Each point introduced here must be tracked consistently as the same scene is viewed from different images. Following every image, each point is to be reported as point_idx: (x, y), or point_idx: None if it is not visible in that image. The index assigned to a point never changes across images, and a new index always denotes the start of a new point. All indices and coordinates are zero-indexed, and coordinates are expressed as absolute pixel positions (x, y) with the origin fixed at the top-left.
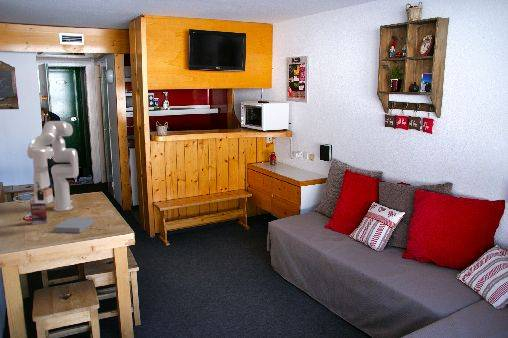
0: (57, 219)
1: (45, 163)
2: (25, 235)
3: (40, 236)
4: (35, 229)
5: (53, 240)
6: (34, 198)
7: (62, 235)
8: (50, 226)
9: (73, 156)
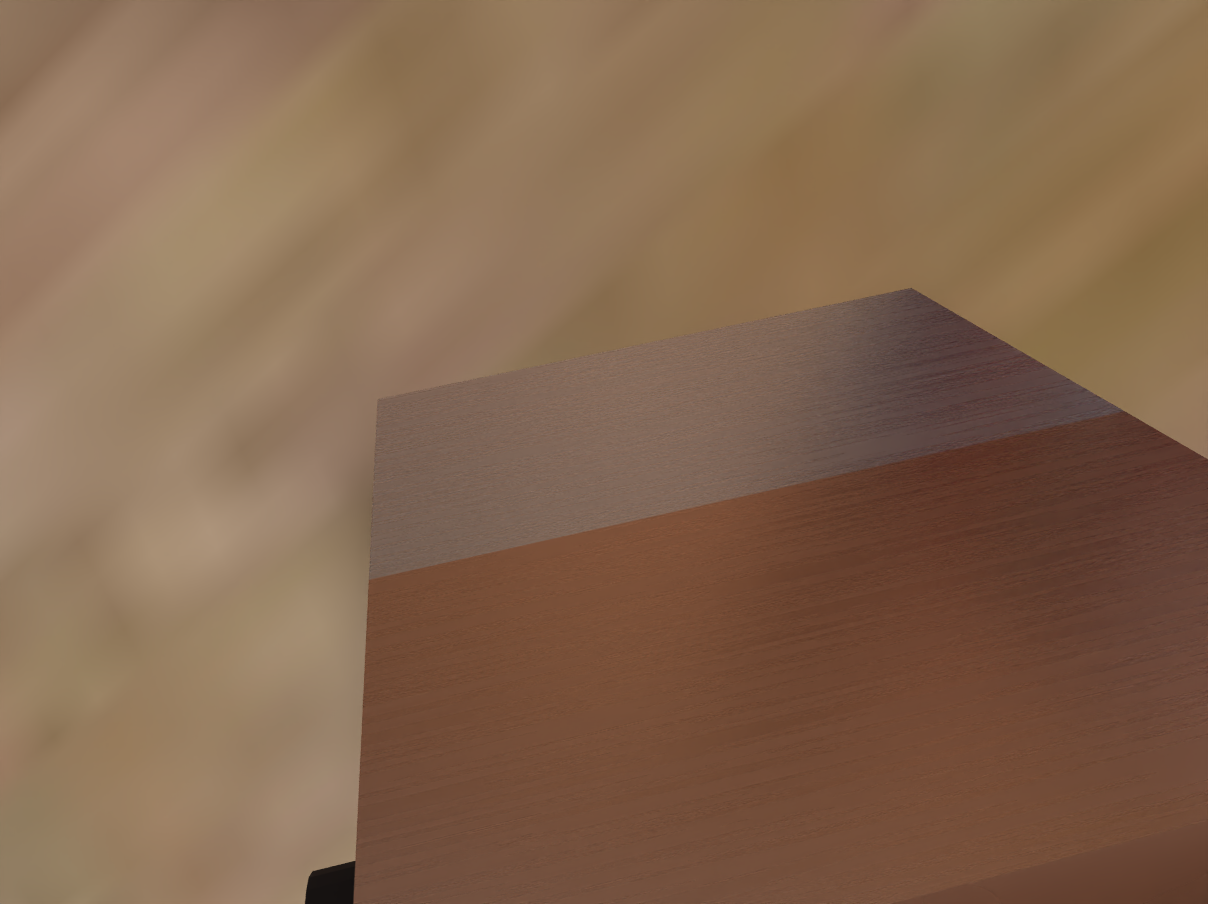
0: (1191, 36)
1: None
2: (4, 125)
3: (111, 499)
4: (445, 40)
5: (52, 859)
6: (374, 519)
7: (331, 817)
8: (720, 238)
9: None
